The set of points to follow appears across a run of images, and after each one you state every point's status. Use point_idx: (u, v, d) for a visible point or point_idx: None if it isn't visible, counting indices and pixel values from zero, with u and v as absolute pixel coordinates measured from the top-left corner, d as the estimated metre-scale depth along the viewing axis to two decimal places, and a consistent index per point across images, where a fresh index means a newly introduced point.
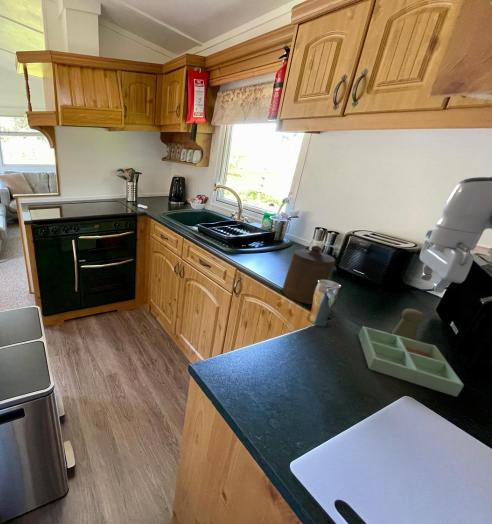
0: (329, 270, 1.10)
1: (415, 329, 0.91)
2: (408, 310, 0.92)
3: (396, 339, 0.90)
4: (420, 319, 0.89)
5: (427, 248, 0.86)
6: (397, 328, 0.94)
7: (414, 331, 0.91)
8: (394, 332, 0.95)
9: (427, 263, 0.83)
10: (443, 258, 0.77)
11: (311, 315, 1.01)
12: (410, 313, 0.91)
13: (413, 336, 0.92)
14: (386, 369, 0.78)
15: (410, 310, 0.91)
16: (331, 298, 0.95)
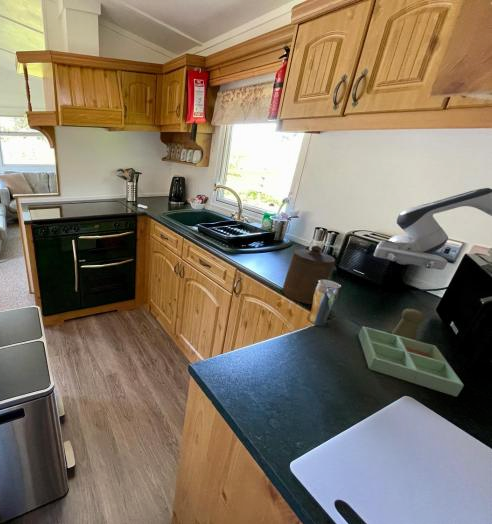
0: (329, 270, 1.10)
1: (415, 329, 0.91)
2: (408, 310, 0.92)
3: (396, 339, 0.90)
4: (420, 319, 0.89)
5: (385, 247, 1.11)
6: (397, 328, 0.94)
7: (414, 331, 0.91)
8: (394, 332, 0.95)
9: (401, 252, 1.06)
10: None
11: (311, 315, 1.01)
12: (410, 313, 0.91)
13: (413, 336, 0.92)
14: (386, 369, 0.78)
15: (410, 310, 0.91)
16: (331, 298, 0.95)
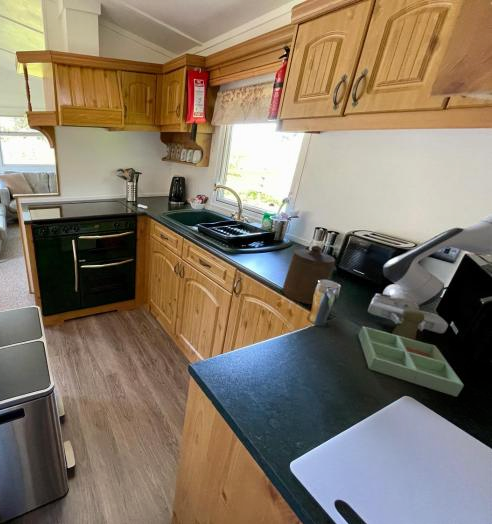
0: (329, 270, 1.10)
1: (415, 329, 0.91)
2: (408, 310, 0.92)
3: (396, 339, 0.90)
4: (420, 319, 0.89)
5: (380, 303, 1.02)
6: (397, 328, 0.94)
7: (414, 331, 0.91)
8: (394, 332, 0.95)
9: (398, 310, 0.97)
10: None
11: (311, 315, 1.01)
12: (410, 313, 0.91)
13: (413, 336, 0.92)
14: (386, 369, 0.78)
15: (410, 310, 0.91)
16: (331, 298, 0.95)
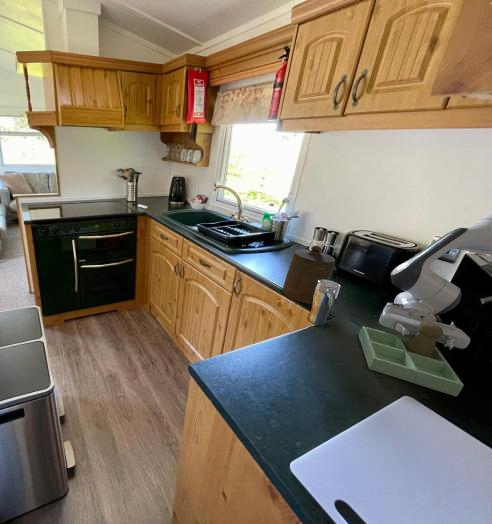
0: (329, 270, 1.10)
1: (432, 345, 0.82)
2: (425, 324, 0.82)
3: (396, 339, 0.90)
4: (438, 334, 0.80)
5: (392, 313, 0.92)
6: (412, 343, 0.85)
7: (431, 347, 0.82)
8: (408, 347, 0.86)
9: (413, 323, 0.88)
10: None
11: (311, 315, 1.01)
12: (427, 328, 0.81)
13: (430, 353, 0.82)
14: (386, 369, 0.78)
15: (427, 324, 0.82)
16: (331, 298, 0.95)
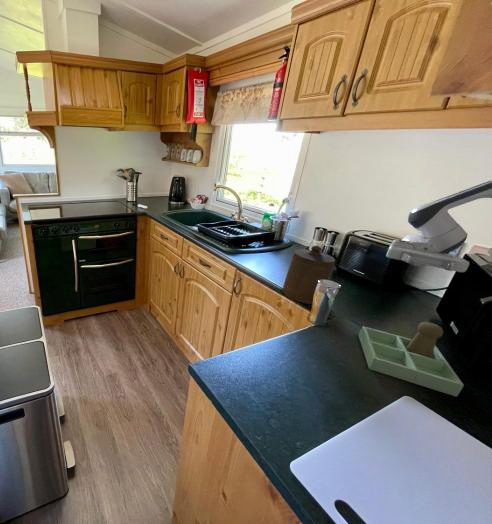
0: (329, 270, 1.10)
1: (432, 345, 0.82)
2: (425, 324, 0.82)
3: (396, 339, 0.90)
4: (438, 334, 0.80)
5: (398, 247, 1.01)
6: (412, 343, 0.85)
7: (431, 347, 0.82)
8: (408, 347, 0.86)
9: (417, 252, 0.97)
10: (440, 255, 0.96)
11: (311, 315, 1.01)
12: (427, 328, 0.81)
13: (430, 353, 0.82)
14: (386, 369, 0.78)
15: (427, 324, 0.82)
16: (331, 298, 0.95)
